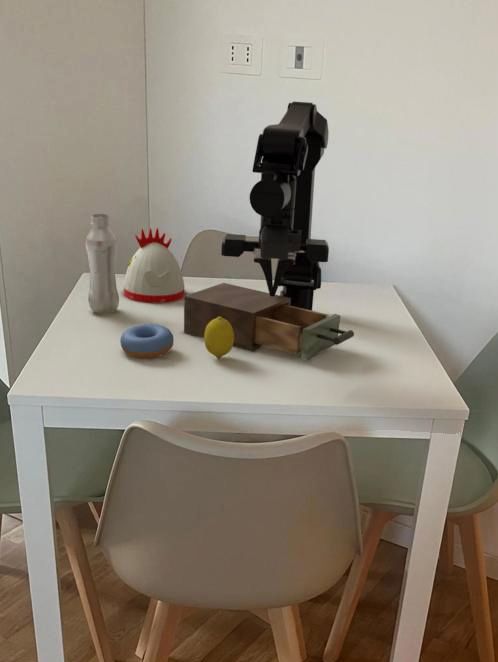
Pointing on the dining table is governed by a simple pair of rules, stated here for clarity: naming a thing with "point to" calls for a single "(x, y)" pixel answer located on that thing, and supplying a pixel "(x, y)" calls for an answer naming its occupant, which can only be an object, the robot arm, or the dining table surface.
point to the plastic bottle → (102, 265)
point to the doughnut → (146, 340)
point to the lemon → (219, 337)
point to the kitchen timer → (153, 272)
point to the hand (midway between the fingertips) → (272, 295)
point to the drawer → (299, 330)
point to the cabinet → (229, 311)
